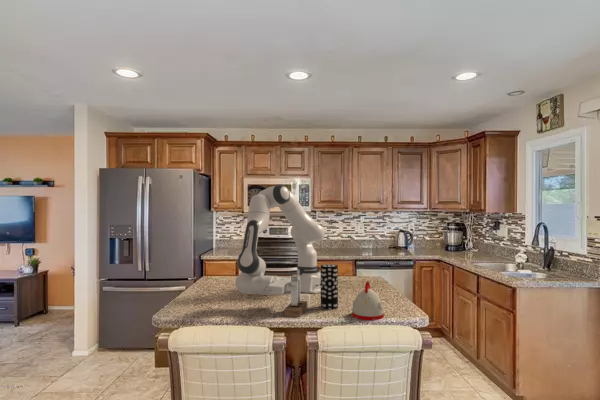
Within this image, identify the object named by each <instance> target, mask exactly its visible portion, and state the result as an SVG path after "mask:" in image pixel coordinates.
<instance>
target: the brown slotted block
mask: <svg viewBox="0 0 600 400" xmlns="http://www.w3.org/2000/svg"><path fill="white" fill-rule="evenodd" d="M307 308H308V300H300V303H298V306H291V302H290V303H289V304H288V305H287V306H286V307H285V308H284V309H283V311H284V314H283V315H284V317H293V318H294V317H295V318H301V317H302V315H303V314H304V312H305V311H306V310H307Z"/></svg>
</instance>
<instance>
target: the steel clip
mask: <svg viewBox="0 0 600 400" xmlns="http://www.w3.org/2000/svg"><path fill="white" fill-rule="evenodd" d="M290 278H291V286H296V290H295V291H290V303H291V306H298V303H300V301H301V292H300V275H297V273H296V274H292V275H291V277H290Z"/></svg>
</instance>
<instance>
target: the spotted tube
mask: <svg viewBox="0 0 600 400" xmlns="http://www.w3.org/2000/svg"><path fill="white" fill-rule="evenodd" d="M320 266H321V270H320V272H321V292H320V308H321V309H323V310H336V309H338V308H339V269H338V268H339V267H338V265H337V264H333V263H329V264H328V263H327V264H325V263H323V264H320Z"/></svg>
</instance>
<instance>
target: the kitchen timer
mask: <svg viewBox="0 0 600 400" xmlns="http://www.w3.org/2000/svg"><path fill="white" fill-rule="evenodd" d="M364 284H365V286H364V289H362V290H361V291H360V292H359V293H358V294H357V295H356V297H355V298H354V299H353V302H352V310H351V316H352V317H353V318H355V319H357V320H362V321H363V320H364V321H379V320H381V319H383V318H384V317H385V315H384V313H385V312H384V304H383V300H382V299H380V297H379V295H378V294H377V293H376V292H375V291H374V290H373V289H371V285H370V281H366V282H365V283H364Z"/></svg>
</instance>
